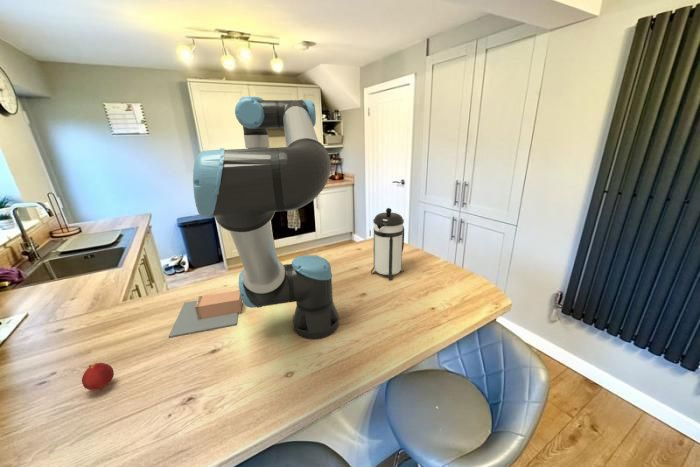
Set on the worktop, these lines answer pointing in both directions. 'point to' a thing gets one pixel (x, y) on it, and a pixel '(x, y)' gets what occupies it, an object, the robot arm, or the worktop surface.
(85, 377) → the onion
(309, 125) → the robot arm
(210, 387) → the worktop surface
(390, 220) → the coffee press
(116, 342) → the worktop surface
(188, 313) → the mat
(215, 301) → the tall block
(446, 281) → the worktop surface
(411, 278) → the worktop surface
